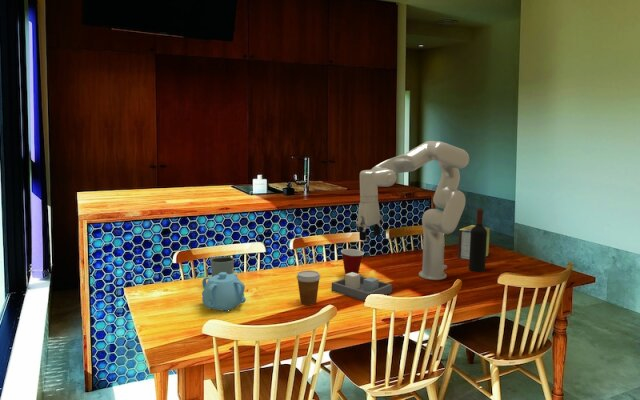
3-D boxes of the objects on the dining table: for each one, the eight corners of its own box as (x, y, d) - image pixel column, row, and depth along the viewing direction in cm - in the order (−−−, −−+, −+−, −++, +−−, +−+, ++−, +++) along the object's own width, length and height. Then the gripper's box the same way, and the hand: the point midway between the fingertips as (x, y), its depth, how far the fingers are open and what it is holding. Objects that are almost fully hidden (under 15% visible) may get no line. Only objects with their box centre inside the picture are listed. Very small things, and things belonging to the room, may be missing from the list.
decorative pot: (201, 301, 213) (200, 268, 210) (241, 297, 217) (240, 265, 215) (203, 316, 197) (202, 281, 195) (246, 311, 201) (246, 277, 199)
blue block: (369, 290, 224) (370, 277, 223) (378, 293, 221) (378, 279, 220) (363, 293, 221) (363, 279, 220) (371, 295, 218) (372, 281, 217)
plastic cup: (362, 280, 240) (362, 254, 238) (338, 278, 242) (339, 253, 240) (365, 273, 250) (365, 248, 248) (342, 272, 252) (342, 247, 250)
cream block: (351, 285, 231) (352, 272, 230) (359, 287, 228) (360, 274, 227) (345, 287, 228) (345, 274, 227) (353, 290, 225) (353, 276, 224)
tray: (355, 282, 237) (355, 274, 236) (391, 292, 223) (392, 284, 223) (331, 290, 225) (331, 282, 225) (368, 302, 212) (368, 293, 211)
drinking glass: (206, 287, 229) (205, 260, 227) (218, 280, 238) (218, 255, 236) (227, 290, 225) (226, 263, 224) (238, 283, 235) (238, 257, 233)
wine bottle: (467, 271, 255) (470, 209, 250) (469, 267, 262) (472, 207, 257) (484, 272, 252) (487, 211, 247) (485, 268, 259) (489, 208, 254)
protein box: (488, 255, 283) (490, 227, 280) (475, 261, 271) (477, 232, 269) (470, 252, 290) (471, 224, 287) (457, 257, 278) (458, 229, 276)
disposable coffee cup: (301, 308, 205) (301, 278, 203) (293, 300, 214) (293, 271, 212) (324, 304, 209) (324, 275, 207) (314, 297, 217) (314, 269, 216)
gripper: (374, 195, 234) (375, 232, 237) (349, 201, 222) (350, 241, 225) (388, 196, 229) (388, 235, 232) (363, 203, 217) (364, 243, 220)
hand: (370, 238), depth 228 cm, fingers open, 9 cm apart
